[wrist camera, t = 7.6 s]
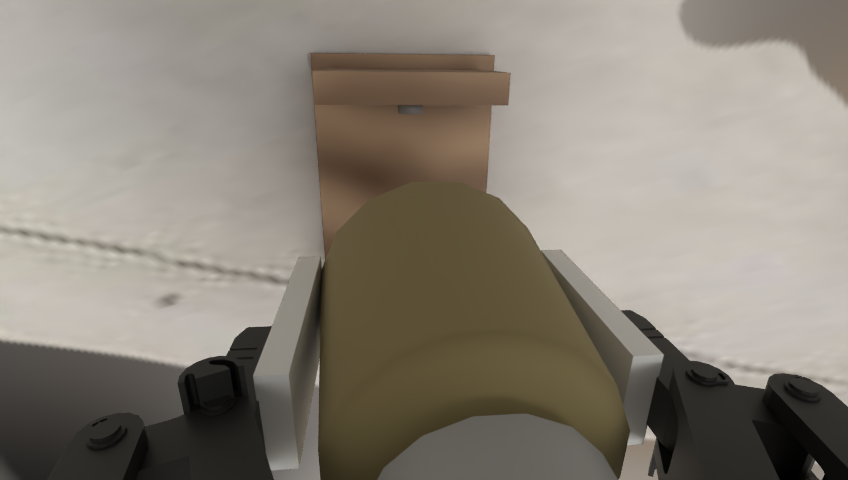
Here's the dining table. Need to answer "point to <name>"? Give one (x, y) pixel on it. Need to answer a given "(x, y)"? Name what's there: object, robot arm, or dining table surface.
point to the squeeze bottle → (456, 350)
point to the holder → (399, 124)
